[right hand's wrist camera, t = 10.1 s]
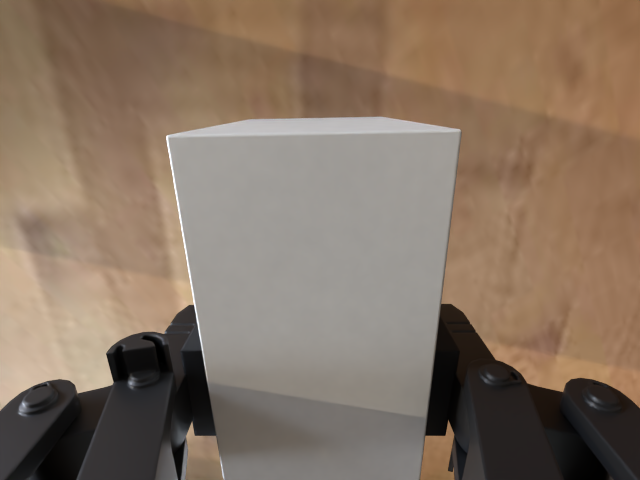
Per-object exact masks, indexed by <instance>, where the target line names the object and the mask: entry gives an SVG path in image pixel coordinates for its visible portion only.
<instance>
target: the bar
mask: <svg viewBox="0 0 640 480" xmlns="http://www.w3.org/2000/svg"><path fill="white" fill-rule="evenodd" d="M461 133H462V132H461V130H460V129H455V128H448V127H442V126H436V125H430V124H424V123H417V122H411V121H405V120H399V119H392V118H386V117H345V118H293V119H249V120H244V121H238V122H233V123H228V124H223V125H217V126H212V127H207V128H202V129H197V130H191V131H186V132H181V133H176V134H171V135H168V136H167V144H168V150H169V156H170V162H171V168H172V174H173V180H174V186H175V192H176V198H177V204H178V210H179V216H180V222H181V228H182V234H183V240H184V246H185V252H186V258H187V264H188V270H189V276H190V282H191V288H192V294H193V300H194V306H195V312H196V318H197V324H198V330H199V336H200V342H201V347H202V353H203V359H204V365H205V371H206V377H207V383H208V389H209V395H210V401H211V407H212V413H213V419H214V425H215V431H216V437H217V443H218V449H219V455H220V461H221V467H222V473H223V479H224V480H420V475H421V466H422V458H423V450H424V441H425V433H426V425H427V416H428V408H429V400H430V391H431V383H432V375H433V366H434V358H435V350H436V341H437V333H438V325H439V316H440V308H441V300H442V292H443V283H444V275H445V267H446V258H447V250H448V242H449V233H450V225H451V217H452V208H453V200H454V192H455V183H456V175H457V167H458V158H459V150H460V142H461Z"/></svg>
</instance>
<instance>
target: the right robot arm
mask: <svg viewBox="0 0 640 480" xmlns="http://www.w3.org/2000/svg"><path fill="white" fill-rule="evenodd" d="M106 355H107V359H108V363H109V366H110V370H111V374H112V378H113V381H114V383H113V385H111V386H108V387H105V388H100V389H96V390H91V391H87V392H83V393H77V390H76V387H75V385H74V384H73V383H72V382H70V381H68V380H61V379H59V380H52V381H47V382H44V383H41V384H38V385H35V386H33V387H31V388H29V389H27V390H25V391H23V392H22V393H20V394H19V395H18V396H16V397H15V398H14V399H12V400H11V401H10V402H9V403H8V404H7V405H6V406H5V407H4V408H3V409H2V410H1V411H0V480H185V477H186V466H187V456H188V446H187V440H186V435H187V432H188V430H189V427H190V425H191V422H193V428H194V434H195V436H216V431H215V425H214V419H213V413H212V407H211V401H210V395H209V389H208V383H207V377H206V371H205V365H204V359H203V353H202V347H201V342H200V336H199V330H198V324H197V318H196V312H195V306H194V305H189V306H187V307H186V308H185V309H183V310H182V311H180V312H179V313H178V314H177V315H176V316H175V318H174V319H173V321H172V322H171V325H170V326H169V327H168V328H167V330H166V331H165V334H161V333H157V332H142V333H138V334H134V335H131V336H128V337H126V338H124V339H122V340H120V341H119V342H117V343H116V344H114V345H113V346H112V347H111V348H110V349H109V351H108V352H107V353H106ZM448 420H449V422H450V425H451V427H452V430H453V432H454V440H453V446H452V451H451V456H450V462H449V468H448V471H451V472H453V467H454V476H455V480H640V408H639V407H638V406H637V405H636V404H635V403H634V402H633V401H632V400H630V399H629V398H628V397H627V396H625V395H624V394H623V393H621V392H620V391H618V390H616V389H615V388H613V387H611V386H609V385H607V384H604V383H602V382H599V381H595V380H592V379H585V378H577V379H571V380H570V381H569V382H567V383H566V385H565V388H564V391H563V392H560V391H555V390H551V389H546V388H542V387H537V386H534V385H530V384H527V382H526V381H525V379H524V378H523V376H522V375H521V374H520V373H519V372H518V371H517V370H516V369H514V368H513V367H511V366H509V365H507V364H505V363H503V362H501V361H497V360H495V358H494V357H493V355H492V354H491V352H490V351H489V350H488V348H487V347H486V345H485V344H484V342H483V341H482V339H481V338H480V336H479V335H478V334H477V333H476V332H475V329H474V328H473V326H472V325H471V324H470V322H469V320H468V319H467V318H466V316H465V315H464V313H463V312H462V311H460V310H459V309H457V308H456V307H454V306H453V305H452V304H441V308H440V316H439V325H438V333H437V341H436V350H435V358H434V366H433V375H432V383H431V391H430V400H429V408H428V416H427V425H426V433H425V436H445V435H446V429H447V424H448Z"/></svg>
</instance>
